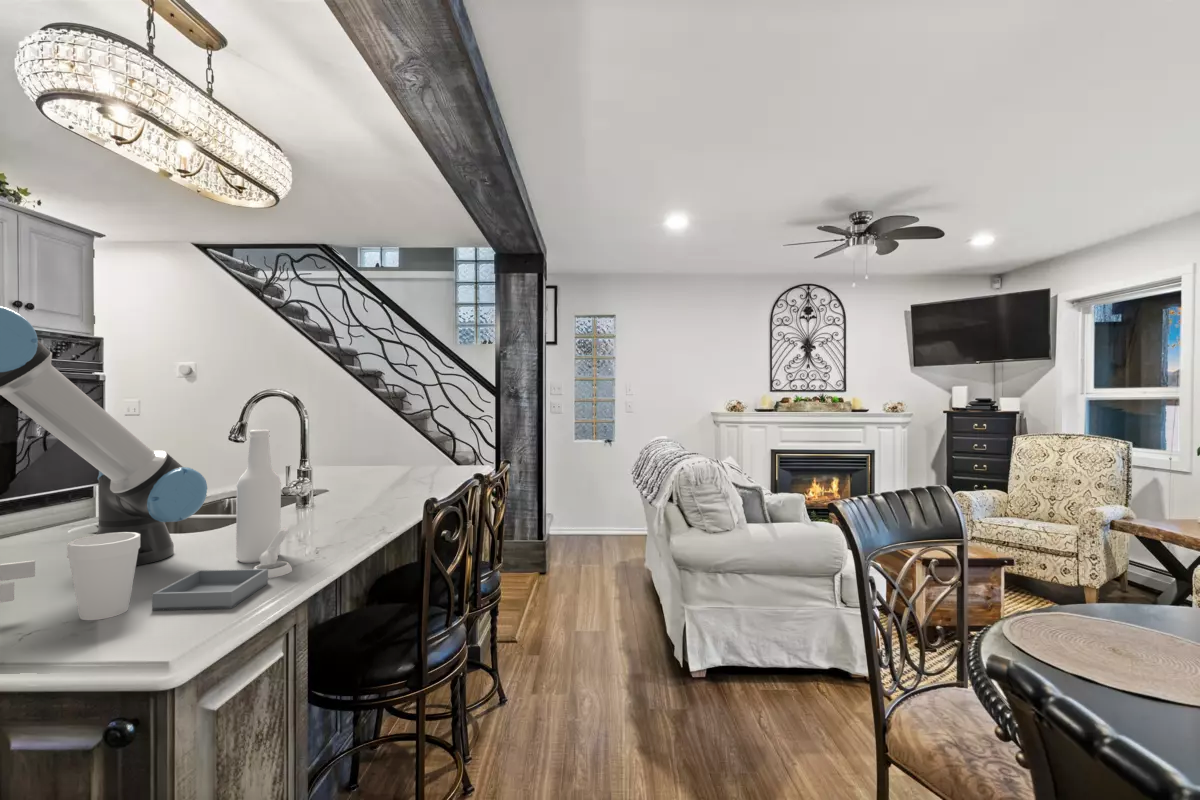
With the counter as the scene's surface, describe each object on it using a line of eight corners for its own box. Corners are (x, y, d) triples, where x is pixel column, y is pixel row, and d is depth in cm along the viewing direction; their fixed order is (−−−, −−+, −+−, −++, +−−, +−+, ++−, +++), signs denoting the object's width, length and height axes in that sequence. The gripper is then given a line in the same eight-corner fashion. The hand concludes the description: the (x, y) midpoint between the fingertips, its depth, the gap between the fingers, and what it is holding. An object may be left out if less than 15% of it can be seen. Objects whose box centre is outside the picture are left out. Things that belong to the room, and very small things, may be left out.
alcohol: (231, 565, 124) (232, 431, 123) (241, 554, 132) (242, 429, 132) (276, 561, 127) (277, 430, 127) (283, 551, 135) (284, 428, 135)
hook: (301, 554, 115) (270, 537, 114) (271, 597, 117) (240, 581, 115) (316, 537, 122) (287, 521, 121) (287, 578, 124) (258, 562, 122)
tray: (198, 585, 111) (198, 570, 111) (267, 583, 112) (267, 568, 112) (152, 610, 98) (152, 593, 98) (231, 608, 99) (231, 591, 99)
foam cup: (148, 610, 98) (148, 537, 98) (78, 628, 90) (78, 549, 90) (127, 599, 103) (127, 529, 103) (60, 615, 95) (60, 540, 95)
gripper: (-145, 605, 88) (41, 580, 101) (-246, 668, 68) (2, 628, 81) (-144, 558, 88) (42, 539, 101) (-246, 607, 68) (3, 576, 81)
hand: (25, 579), depth 91 cm, fingers open, 13 cm apart
